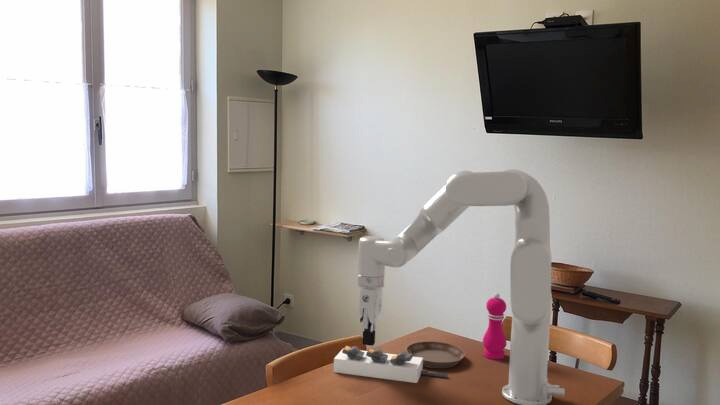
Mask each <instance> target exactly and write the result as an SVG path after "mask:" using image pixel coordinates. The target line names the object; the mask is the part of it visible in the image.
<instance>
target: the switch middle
mask: <svg viewBox="0 0 720 405" xmlns="http://www.w3.org/2000/svg"><path fill="white" fill-rule="evenodd" d="M367 351H368V352H367V354H366V356H368V357H371V359H372V361H374V362H378V361H381V362H383V363H385V361H386V360H387V358H388V355H386V354H384V353H385V352H384V351H383V350H382V349H380V348H376V349H373V348H370V347H369V349H368V350H367Z"/></svg>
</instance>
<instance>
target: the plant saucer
mask: <svg viewBox="0 0 720 405" xmlns="http://www.w3.org/2000/svg"><path fill="white" fill-rule="evenodd" d="M405 351H406V354H409V353H412V355H413V357H421V358H423V367H425V368H431V369H449V368H453V367H456V366H457V365H458V364H459V363H460V362H461V361H462V360H463V359H464V357H465V356H466V353H465V351H464V349H462V348H460V347H458V346H456V345H454V344H450V343H446V342H439V341H430V340H429V341H418V342H413V343H410V344H409V345H408V346H407V347H406V348H405Z"/></svg>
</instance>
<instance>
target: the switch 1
mask: <svg viewBox="0 0 720 405" xmlns="http://www.w3.org/2000/svg"><path fill="white" fill-rule="evenodd" d="M342 349H343V348H342ZM360 350H361V349H360V348H359V347H358V346H356V345H354V346H349V345H345V347H344V349H343V351H342V353H344V354H347V356H348V358H350V359H354V358H357V359H359V360H361V358H362V357H363V356H364V353H365V352H362V351H363V350H362V351H360Z"/></svg>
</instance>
